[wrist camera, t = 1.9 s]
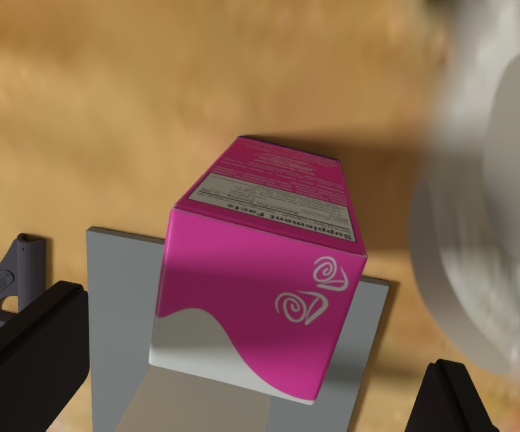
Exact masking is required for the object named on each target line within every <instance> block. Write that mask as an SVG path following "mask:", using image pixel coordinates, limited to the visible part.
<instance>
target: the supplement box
mask: <svg viewBox="0 0 520 432" xmlns="http://www.w3.org/2000/svg"><path fill="white" fill-rule="evenodd" d="M367 258H368V256H367V253H366V250H365V246H364V243H363V240H362V237H361V233H360V230H359V226H358V223H357V220H356V216H355V212H354V209H353V205H352V203H351V199H350V196H349V192H348V189H347V186H346V182H345V179H344V175H343V172H342V168H341V165H340V161H339V160H336V159H332V158H328V157H324V156H320V155H316V154H312V153H308V152H305V151H301V150H297V149H293V148H289V147H285V146H281V145H277V144H273V143H269V142H265V141H261V140H257V139H253V138H248V137H244V136H238V137H237V139H236V140H235V141H234V142H233V143H232V144H231V145H230V146H229V147H228V148H227V149H226V151H225V152H224V153H223V154H222V155H221V156H220V157H219V158H218V159H217V160H216V161H215V162H214V163H213V164H212V165H211V166H210V168H209V169H208V170H207V171H206V172H205V173H204V174H203V175H202V176H201V177H200V178H199V179H198V180H197V181H196V183H195V184H194V185H193V186H192V187H191V188H190V189H189V190H188V191H187V192H186V193H185V194H184V195H183V196H182V197H181V198H180V199H179V200H178V201H177V202H176V204H175V205H174V206H173V207H172V209H171V212H170V215H169V221H168V227H167V233H166V239H165V245H164V253H163V259H162V265H161V271H160V280H159V286H158V294H157V301H156V308H155V316H154V323H153V330H152V339H151V344H150V352H149V363H150V364H151V365H153V366H158V367H162V368H166V369H171V370H175V371H179V372H183V373H188V374H192V375H196V376H201V377H205V378H209V379H213V380H217V381H221V382H225V383H229V384H233V385H237V386H240V387H244V388H248V389H251V390H255V391H259V392H262V393H266V394H269V395H273V396H277V397H281V398H284V399H288V400H292V401H296V402H299V403H303V404H307V405H313V404H314V403H315V402H316V399H317V396H318V394H319V391H320V389H321V386H322V383H323V380H324V378H325V375H326V372H327V370H328V367H329V364H330V361H331V358H332V356H333V353H334V350H335V347H336V345H337V342H338V339H339V336H340V333H341V331H342V328H343V325H344V322H345V319H346V317H347V314H348V311H349V308H350V306H351V303H352V300H353V297H354V294H355V291H356V289H357V286H358V283H359V280H360V277H361V275H362V272H363V269H364V267H365V264H366V262H367Z"/></svg>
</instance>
